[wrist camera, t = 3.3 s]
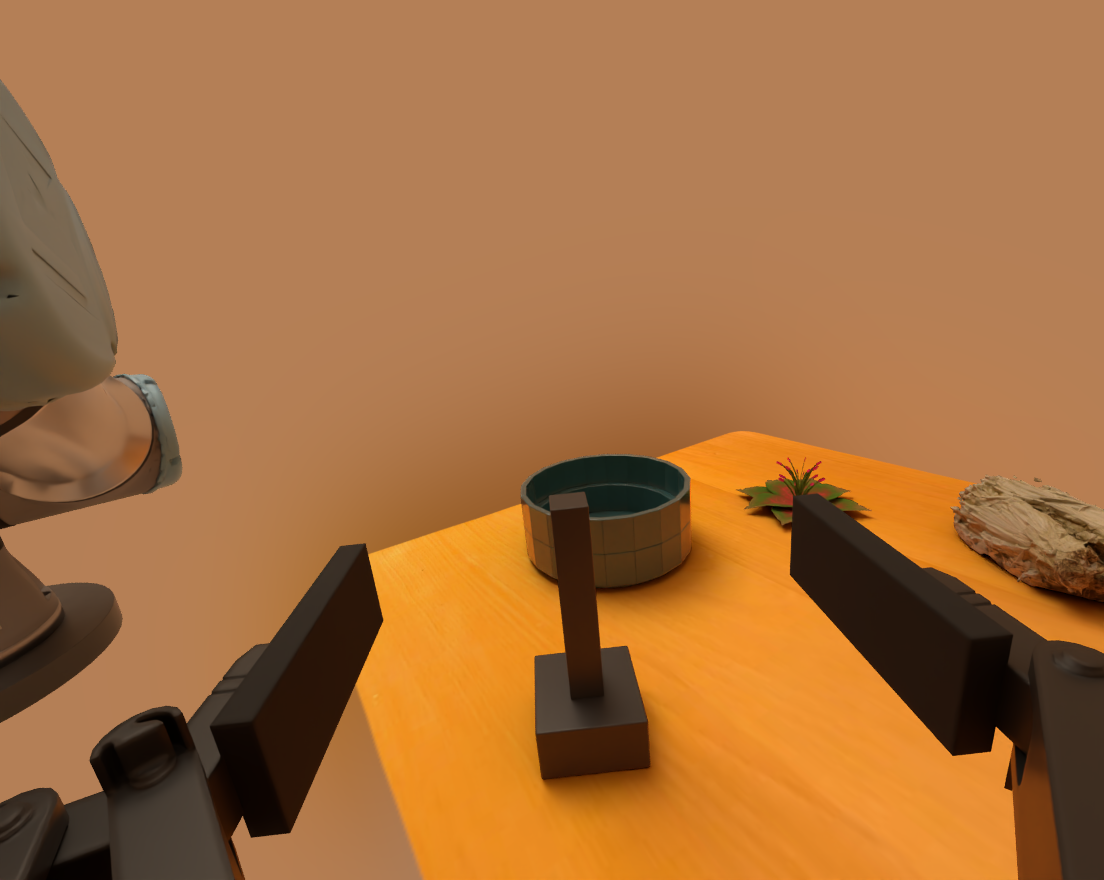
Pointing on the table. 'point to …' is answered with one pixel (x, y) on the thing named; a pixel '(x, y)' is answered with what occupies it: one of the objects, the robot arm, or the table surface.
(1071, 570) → the weathered wood chunk
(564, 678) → the post on square base
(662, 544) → the bowl
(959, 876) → the table surface
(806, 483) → the lily flower
